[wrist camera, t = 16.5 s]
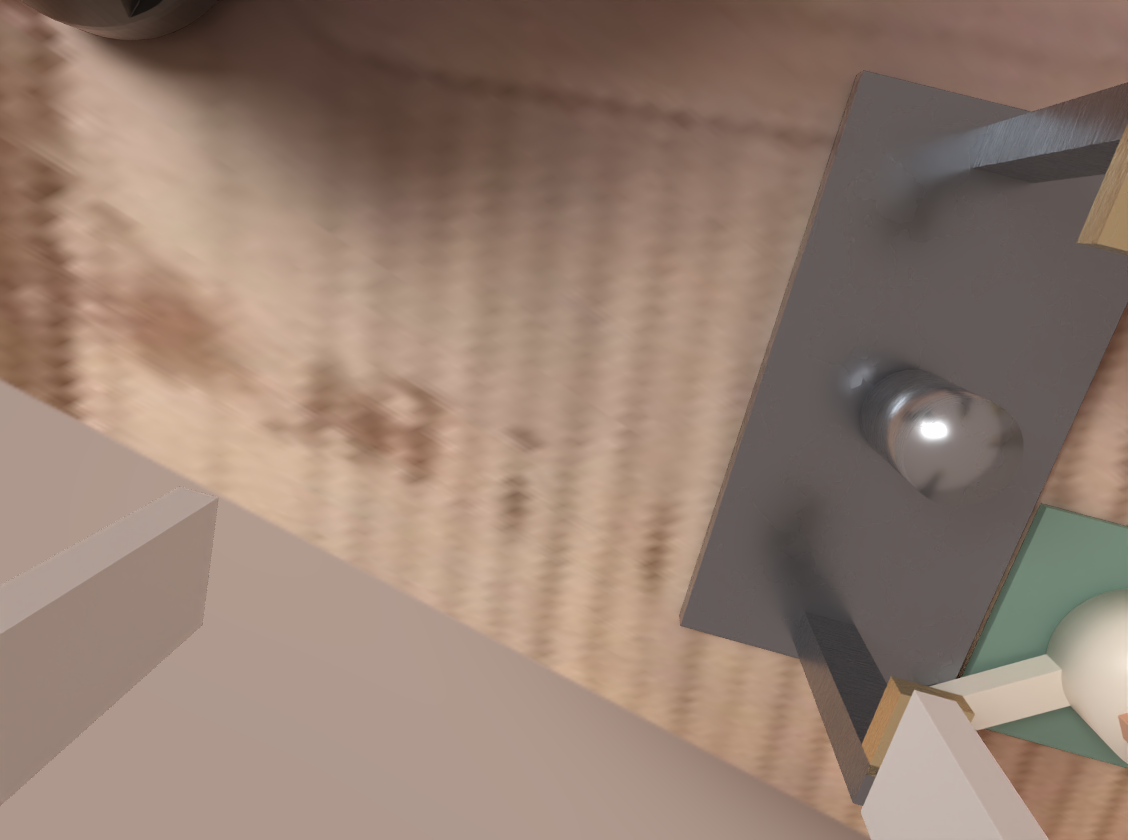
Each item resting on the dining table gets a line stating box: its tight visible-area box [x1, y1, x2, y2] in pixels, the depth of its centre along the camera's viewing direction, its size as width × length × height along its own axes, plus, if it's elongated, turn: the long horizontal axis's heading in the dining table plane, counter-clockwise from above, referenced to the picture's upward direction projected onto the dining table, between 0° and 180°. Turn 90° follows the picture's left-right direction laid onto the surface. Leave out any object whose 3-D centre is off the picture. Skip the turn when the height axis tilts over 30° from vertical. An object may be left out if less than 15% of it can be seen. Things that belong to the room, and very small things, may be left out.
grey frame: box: [679, 70, 1128, 806], centre depth 33 cm, size 31×16×14 cm, turn 166°
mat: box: [962, 503, 1128, 768], centre depth 42 cm, size 14×14×1 cm
